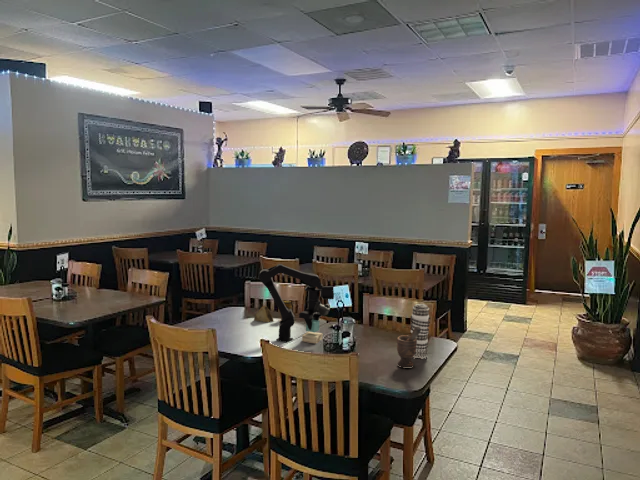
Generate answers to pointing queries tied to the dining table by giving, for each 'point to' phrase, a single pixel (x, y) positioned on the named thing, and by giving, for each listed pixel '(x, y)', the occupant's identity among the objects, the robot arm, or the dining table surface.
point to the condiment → (288, 305)
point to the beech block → (312, 337)
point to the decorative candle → (421, 321)
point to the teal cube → (313, 326)
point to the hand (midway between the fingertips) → (312, 328)
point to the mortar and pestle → (407, 348)
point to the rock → (263, 315)
